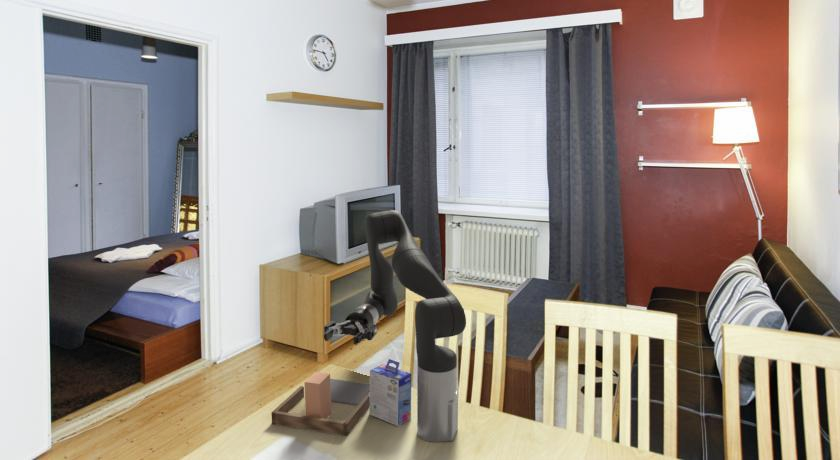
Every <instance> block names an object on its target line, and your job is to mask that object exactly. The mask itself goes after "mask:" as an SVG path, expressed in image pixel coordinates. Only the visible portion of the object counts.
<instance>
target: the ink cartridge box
mask: <svg viewBox="0 0 840 460" xmlns="http://www.w3.org/2000/svg"><path fill="white" fill-rule="evenodd" d="M390 364H393V365H395V366H391V365H390ZM399 367H400V362H399V361H397V360H393V359H390V358H388V361H387V362H386V364H380V365H378V366H376V367H374V368H372V369H370V370H369V384H370V392H369V396H370V407H369V415H370V416H373V417H375V418H377V419H380V420H382V421H385V422H387V423H389V424H392V425H394V426H397V427H398V426H400V425H402V424H404V423H406V422H407V421H409V420H410V421H411V419H412V373H411V372H408V371H405V370H402V369H399Z"/></svg>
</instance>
